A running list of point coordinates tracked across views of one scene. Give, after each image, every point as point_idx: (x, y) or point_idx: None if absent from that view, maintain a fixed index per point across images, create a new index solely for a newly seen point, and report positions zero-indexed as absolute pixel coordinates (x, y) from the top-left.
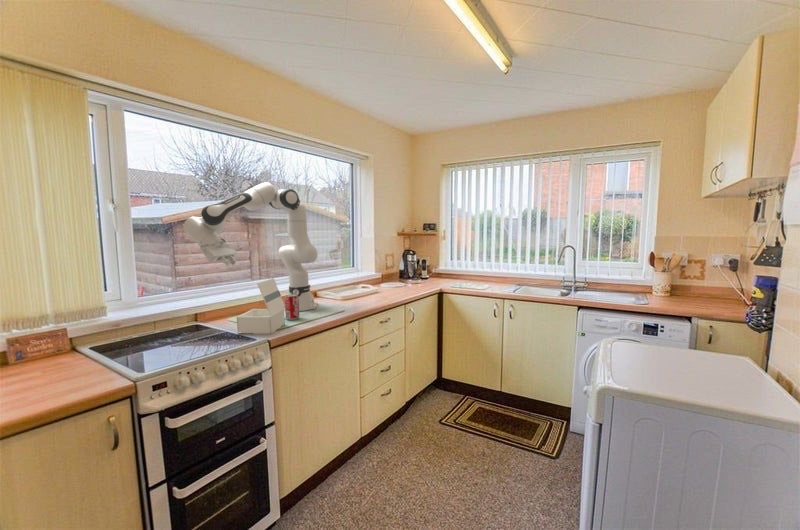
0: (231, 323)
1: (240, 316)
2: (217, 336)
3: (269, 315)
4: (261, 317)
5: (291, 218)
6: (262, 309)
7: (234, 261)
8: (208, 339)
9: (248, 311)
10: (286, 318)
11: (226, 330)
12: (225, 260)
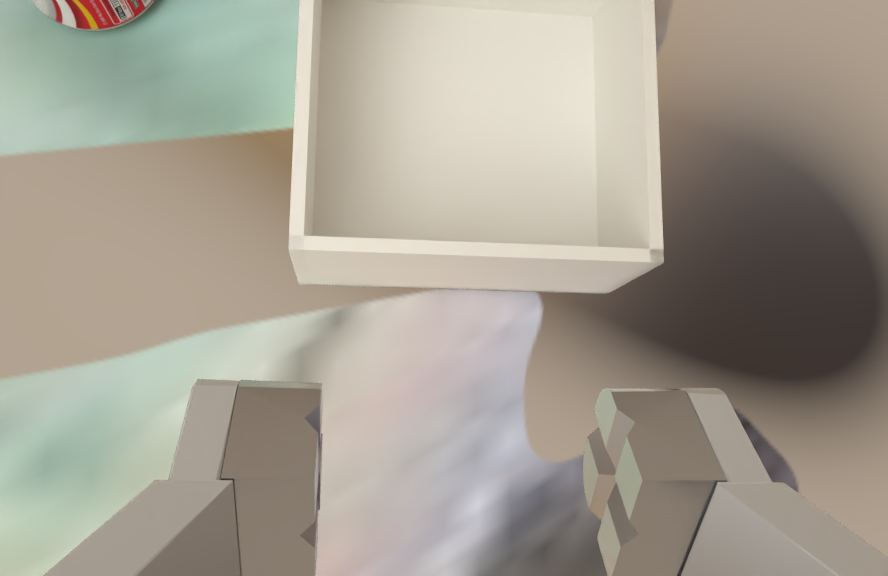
0: None
1: (611, 249)
2: None
3: (314, 85)
4: (653, 11)
5: None
6: (308, 133)
7: (285, 410)
8: (769, 466)
9: (419, 248)
10: (140, 15)
11: (513, 455)
12: (833, 538)
